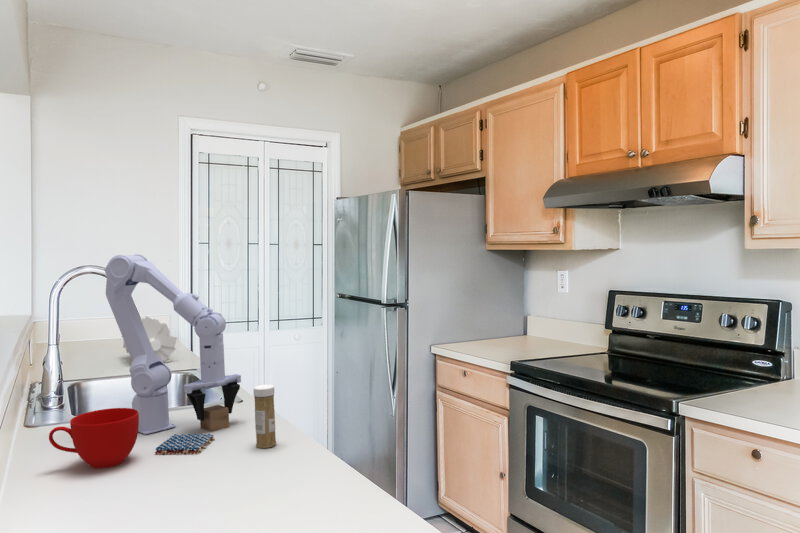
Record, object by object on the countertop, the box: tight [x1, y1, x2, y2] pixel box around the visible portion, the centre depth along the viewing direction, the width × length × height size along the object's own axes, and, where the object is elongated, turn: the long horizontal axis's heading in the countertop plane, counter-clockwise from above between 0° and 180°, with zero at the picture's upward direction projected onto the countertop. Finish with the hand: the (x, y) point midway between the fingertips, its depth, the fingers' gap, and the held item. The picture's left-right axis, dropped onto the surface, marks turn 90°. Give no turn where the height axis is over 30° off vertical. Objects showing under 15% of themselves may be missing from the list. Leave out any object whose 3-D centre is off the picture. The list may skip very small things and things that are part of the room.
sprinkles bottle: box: [253, 384, 277, 449], centre depth 134 cm, size 5×5×14 cm
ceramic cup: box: [48, 407, 139, 469], centre depth 126 cm, size 13×17×10 cm
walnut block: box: [199, 404, 230, 433], centre depth 150 cm, size 5×5×5 cm
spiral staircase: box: [121, 315, 178, 362], centre depth 245 cm, size 18×18×25 cm
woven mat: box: [154, 433, 216, 456], centre depth 135 cm, size 10×11×2 cm
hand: (214, 416), depth 150 cm, fingers open, 7 cm apart
